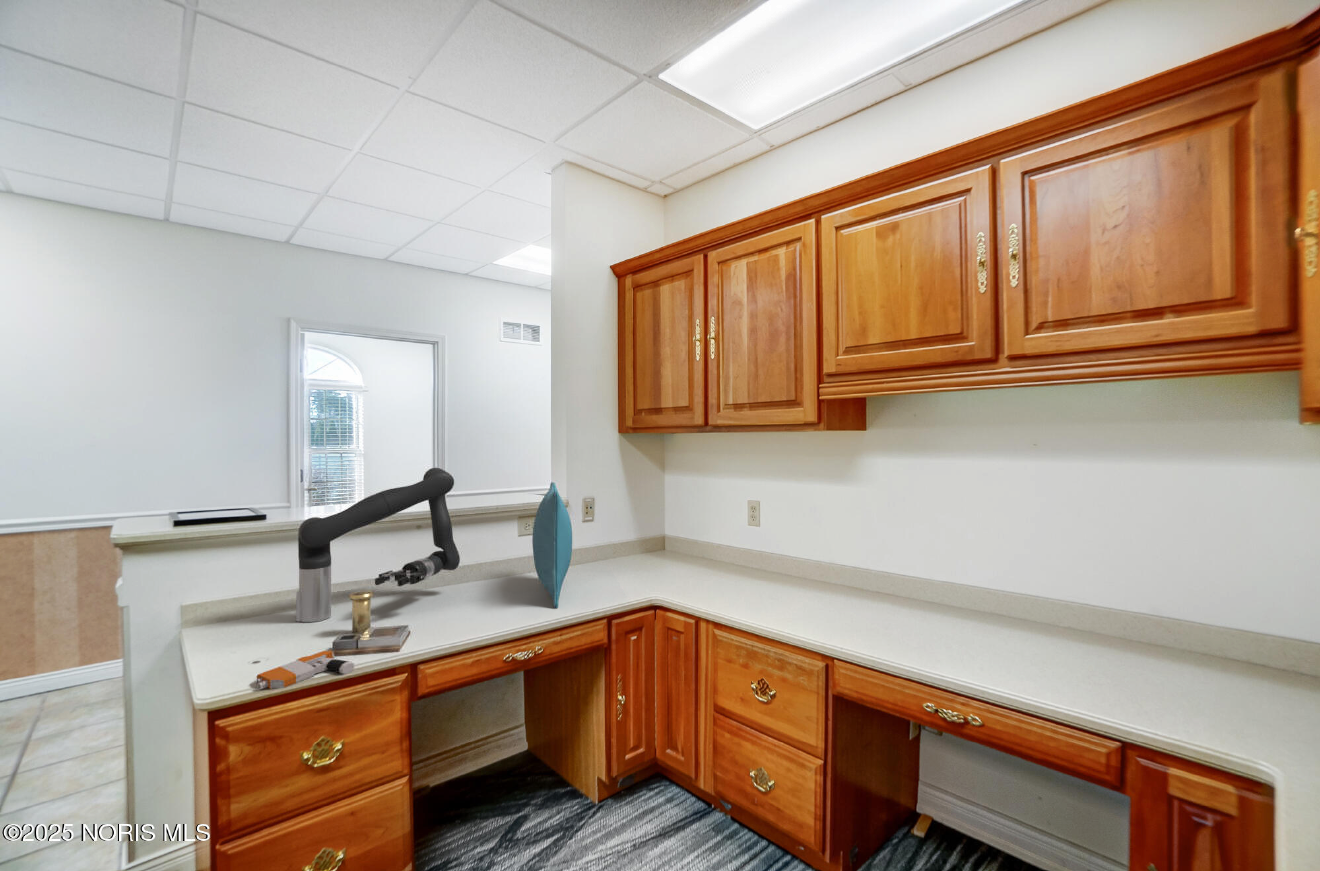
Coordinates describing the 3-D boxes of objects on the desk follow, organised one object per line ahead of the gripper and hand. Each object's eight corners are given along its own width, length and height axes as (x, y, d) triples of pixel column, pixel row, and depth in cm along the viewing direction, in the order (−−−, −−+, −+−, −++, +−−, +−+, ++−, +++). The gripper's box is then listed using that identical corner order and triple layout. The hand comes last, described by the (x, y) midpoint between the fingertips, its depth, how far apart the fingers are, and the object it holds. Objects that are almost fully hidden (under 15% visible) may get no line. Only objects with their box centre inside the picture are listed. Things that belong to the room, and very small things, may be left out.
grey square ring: (332, 650, 160) (332, 641, 160) (339, 643, 166) (339, 634, 166) (356, 649, 162) (356, 640, 162) (362, 641, 168) (362, 633, 168)
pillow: (532, 580, 244) (533, 481, 244) (568, 578, 247) (569, 481, 247) (531, 610, 202) (532, 491, 202) (575, 607, 205) (575, 490, 205)
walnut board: (328, 656, 159) (328, 652, 159) (346, 637, 174) (346, 634, 174) (399, 651, 163) (399, 648, 163) (410, 633, 177) (410, 630, 177)
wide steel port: (358, 649, 162) (358, 640, 162) (369, 635, 173) (369, 627, 173) (400, 646, 164) (400, 637, 164) (408, 633, 175) (408, 624, 175)
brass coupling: (346, 636, 175) (346, 596, 175) (353, 629, 181) (353, 591, 181) (369, 635, 176) (369, 595, 176) (375, 628, 182) (375, 590, 182)
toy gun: (356, 658, 150) (323, 646, 157) (279, 688, 134) (245, 673, 141) (356, 671, 150) (323, 658, 158) (279, 702, 134) (245, 687, 141)
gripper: (400, 559, 207) (368, 570, 191) (435, 560, 204) (405, 572, 188) (400, 580, 207) (368, 593, 191) (436, 582, 204) (406, 595, 188)
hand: (387, 582), depth 190 cm, fingers open, 8 cm apart
